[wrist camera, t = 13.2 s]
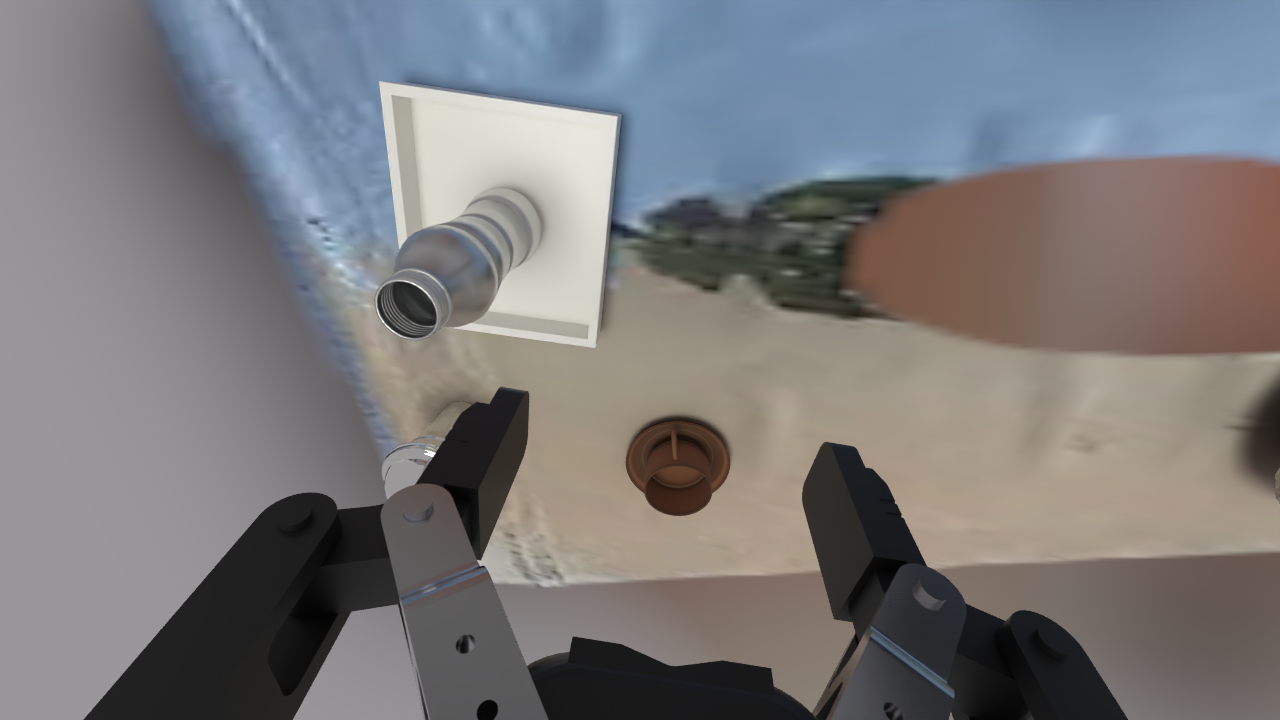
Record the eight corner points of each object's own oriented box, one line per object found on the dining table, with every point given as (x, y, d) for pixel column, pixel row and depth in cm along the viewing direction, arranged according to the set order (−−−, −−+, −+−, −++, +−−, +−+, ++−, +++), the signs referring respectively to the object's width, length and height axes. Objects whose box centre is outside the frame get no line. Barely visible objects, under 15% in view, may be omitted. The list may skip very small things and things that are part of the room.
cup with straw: (514, 415, 56) (443, 564, 39) (473, 459, 60) (392, 613, 42) (450, 373, 54) (344, 510, 36) (412, 421, 57) (299, 567, 40)
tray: (404, 81, 40) (379, 81, 36) (621, 114, 40) (617, 116, 37) (426, 305, 50) (407, 321, 46) (600, 329, 50) (595, 347, 46)
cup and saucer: (609, 433, 57) (603, 469, 51) (704, 398, 54) (708, 433, 48) (653, 502, 62) (651, 541, 56) (743, 474, 59) (750, 513, 53)
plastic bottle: (540, 181, 42) (448, 247, 25) (551, 257, 45) (477, 362, 28) (468, 184, 43) (328, 252, 25) (484, 259, 46) (370, 365, 28)
